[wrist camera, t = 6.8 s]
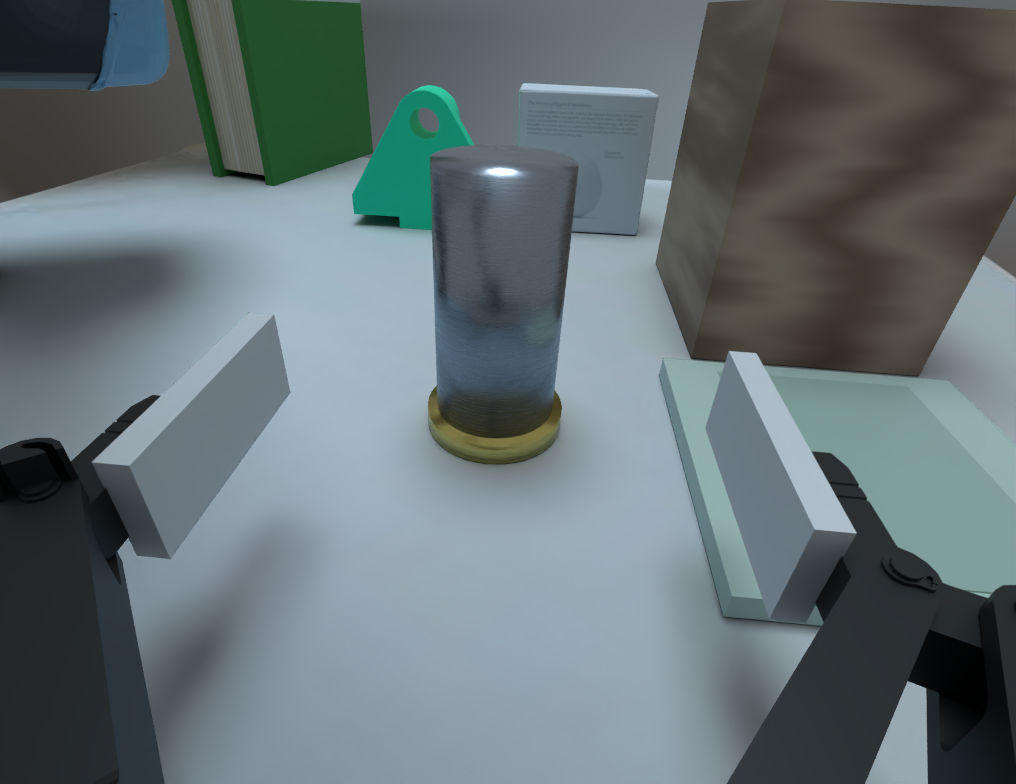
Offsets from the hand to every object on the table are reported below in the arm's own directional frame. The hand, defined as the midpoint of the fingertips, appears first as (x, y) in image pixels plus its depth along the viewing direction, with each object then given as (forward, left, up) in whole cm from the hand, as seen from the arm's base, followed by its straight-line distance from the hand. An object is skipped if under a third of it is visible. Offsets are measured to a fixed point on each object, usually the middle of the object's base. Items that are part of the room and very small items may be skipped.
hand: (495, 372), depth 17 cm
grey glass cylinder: (0, +6, -6) cm, 9 cm away
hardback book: (-26, +50, -7) cm, 57 cm away
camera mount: (-8, +35, -7) cm, 36 cm away
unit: (+16, +20, -6) cm, 26 cm away
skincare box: (+4, +36, -7) cm, 37 cm away
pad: (+15, +4, -6) cm, 16 cm away
